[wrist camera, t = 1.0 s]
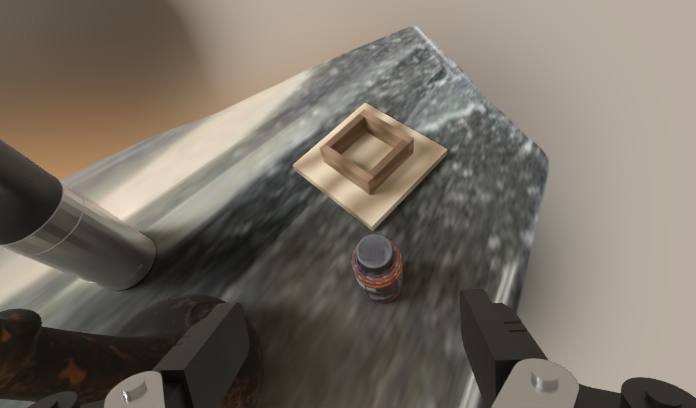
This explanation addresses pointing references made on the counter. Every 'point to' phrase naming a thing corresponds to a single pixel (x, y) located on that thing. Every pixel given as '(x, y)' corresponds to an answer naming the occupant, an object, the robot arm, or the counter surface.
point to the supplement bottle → (378, 268)
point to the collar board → (370, 164)
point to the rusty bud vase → (108, 353)
